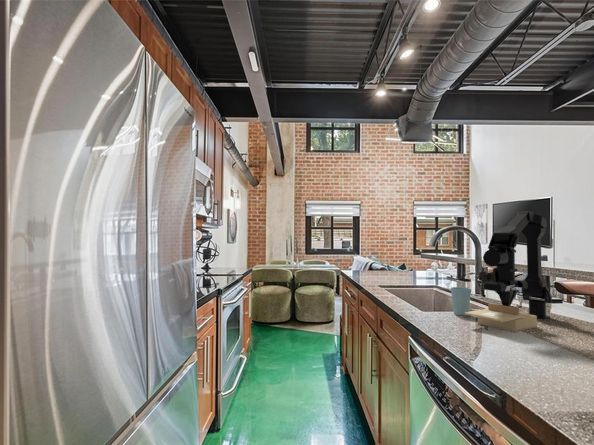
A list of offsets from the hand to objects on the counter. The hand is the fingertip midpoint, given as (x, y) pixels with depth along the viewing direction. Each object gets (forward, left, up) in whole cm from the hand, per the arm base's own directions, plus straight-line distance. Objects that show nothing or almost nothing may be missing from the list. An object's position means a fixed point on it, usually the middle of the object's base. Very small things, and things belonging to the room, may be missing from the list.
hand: (506, 309), depth 126 cm
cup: (-4, -20, -6) cm, 21 cm away
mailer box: (-1, 0, -6) cm, 6 cm away
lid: (+7, 0, -1) cm, 7 cm away
